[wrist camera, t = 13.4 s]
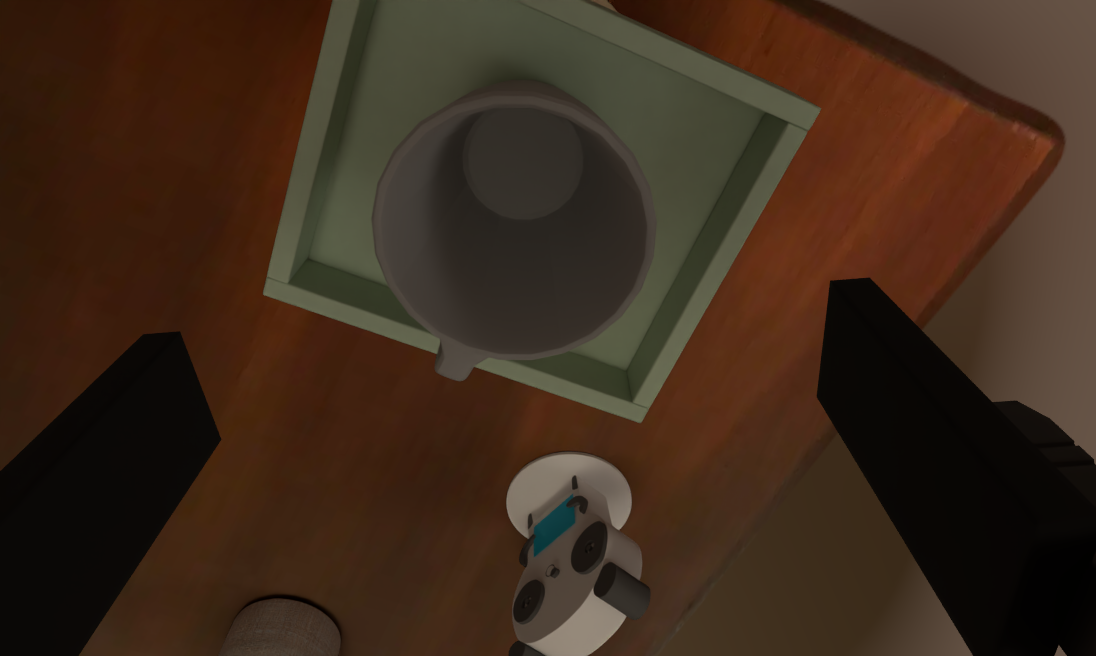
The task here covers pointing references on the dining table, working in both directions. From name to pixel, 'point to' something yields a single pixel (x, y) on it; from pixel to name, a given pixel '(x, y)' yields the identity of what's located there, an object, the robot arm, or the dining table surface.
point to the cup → (513, 225)
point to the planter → (282, 630)
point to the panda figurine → (573, 555)
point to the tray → (592, 78)
